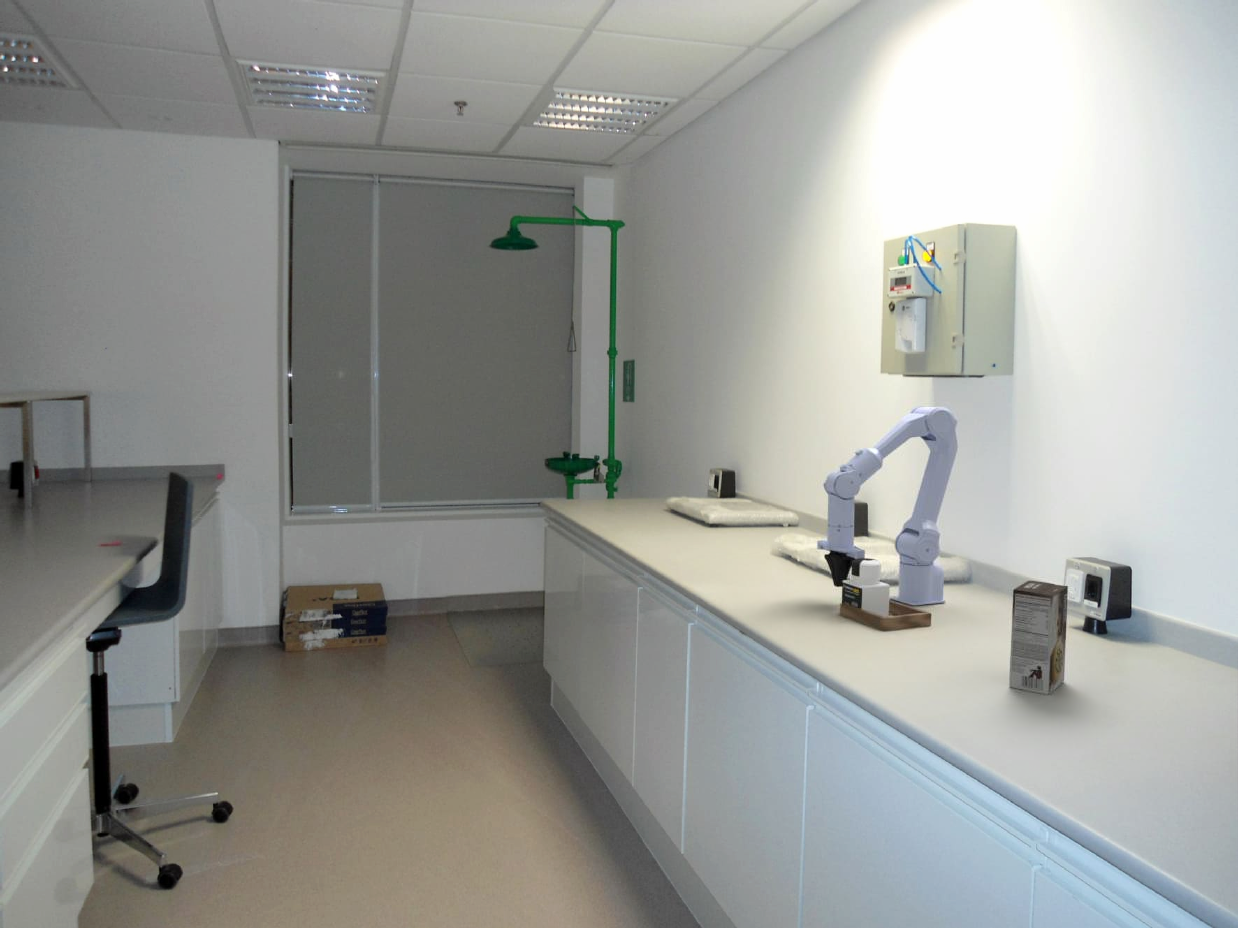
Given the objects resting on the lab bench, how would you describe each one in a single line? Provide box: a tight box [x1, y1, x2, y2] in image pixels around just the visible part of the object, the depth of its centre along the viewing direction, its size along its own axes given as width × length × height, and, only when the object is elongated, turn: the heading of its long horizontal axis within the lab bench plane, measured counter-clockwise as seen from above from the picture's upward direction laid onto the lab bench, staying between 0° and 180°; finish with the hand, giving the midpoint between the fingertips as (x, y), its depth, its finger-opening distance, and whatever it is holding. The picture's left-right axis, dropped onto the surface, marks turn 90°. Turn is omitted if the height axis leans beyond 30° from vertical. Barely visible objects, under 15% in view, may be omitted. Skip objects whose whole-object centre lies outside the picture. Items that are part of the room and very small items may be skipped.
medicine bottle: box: [841, 557, 891, 617], centre depth 196 cm, size 7×7×12 cm
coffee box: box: [1008, 580, 1069, 696], centre depth 150 cm, size 9×6×16 cm
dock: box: [839, 599, 932, 632], centre depth 192 cm, size 12×14×2 cm
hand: (839, 586), depth 206 cm, fingers closed
